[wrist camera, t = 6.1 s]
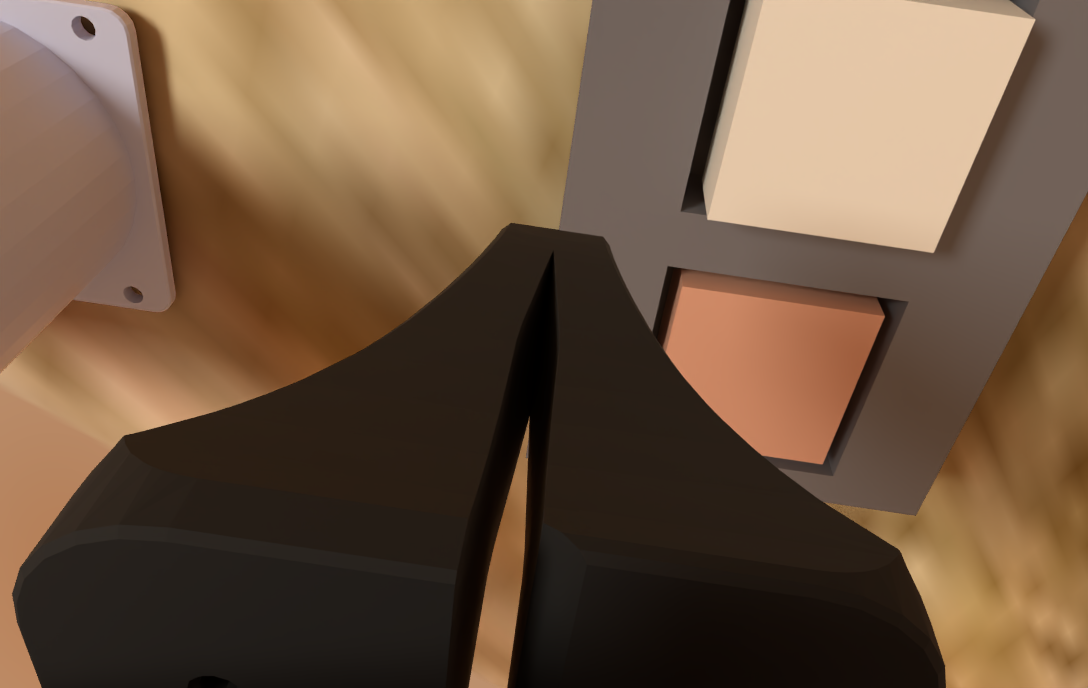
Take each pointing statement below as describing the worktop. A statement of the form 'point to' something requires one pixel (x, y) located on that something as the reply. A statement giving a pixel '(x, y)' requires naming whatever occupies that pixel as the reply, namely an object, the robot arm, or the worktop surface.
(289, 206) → the worktop surface
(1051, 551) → the worktop surface
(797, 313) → the terracotta key
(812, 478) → the keypad
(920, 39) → the cream key
